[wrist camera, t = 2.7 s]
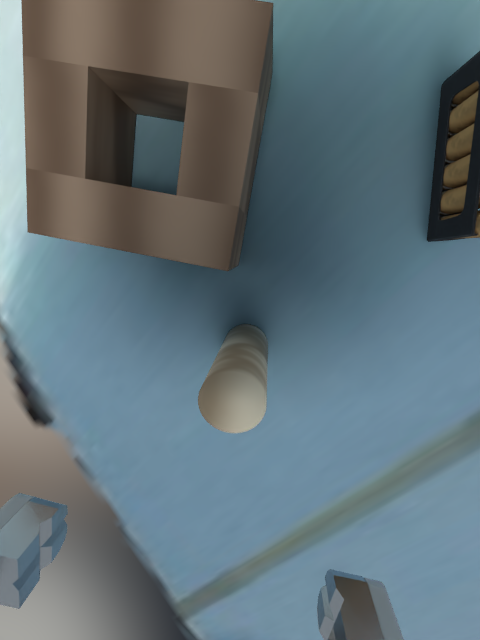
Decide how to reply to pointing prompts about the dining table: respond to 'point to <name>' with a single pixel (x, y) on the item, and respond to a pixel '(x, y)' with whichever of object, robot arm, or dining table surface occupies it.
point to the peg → (237, 382)
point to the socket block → (151, 100)
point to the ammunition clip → (457, 158)
